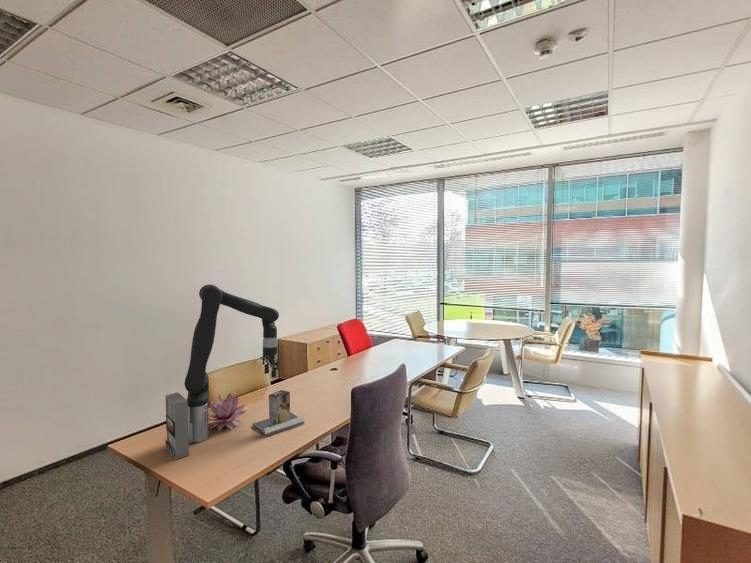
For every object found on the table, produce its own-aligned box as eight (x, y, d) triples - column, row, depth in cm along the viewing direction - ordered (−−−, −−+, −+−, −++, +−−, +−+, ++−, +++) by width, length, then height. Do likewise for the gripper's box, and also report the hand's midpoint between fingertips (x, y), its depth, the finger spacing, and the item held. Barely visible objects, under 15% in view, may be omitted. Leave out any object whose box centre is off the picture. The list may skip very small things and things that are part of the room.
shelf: (265, 437, 179) (265, 429, 179) (252, 426, 190) (252, 418, 190) (304, 423, 194) (304, 416, 193) (290, 414, 205) (290, 407, 205)
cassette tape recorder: (165, 448, 168) (163, 395, 166) (179, 444, 172) (177, 392, 170) (174, 460, 158) (172, 404, 156) (189, 455, 162) (187, 400, 161)
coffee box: (281, 418, 196) (281, 389, 195) (290, 421, 193) (290, 391, 192) (268, 425, 188) (268, 394, 187) (278, 428, 185) (277, 397, 184)
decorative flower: (254, 419, 198) (254, 392, 197) (228, 438, 177) (228, 407, 177) (221, 415, 204) (221, 388, 203) (192, 432, 183) (191, 402, 183)
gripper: (282, 346, 190) (282, 377, 191) (271, 341, 201) (270, 370, 202) (269, 349, 186) (269, 380, 187) (257, 343, 196) (257, 373, 197)
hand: (270, 375), depth 194 cm, fingers open, 8 cm apart
